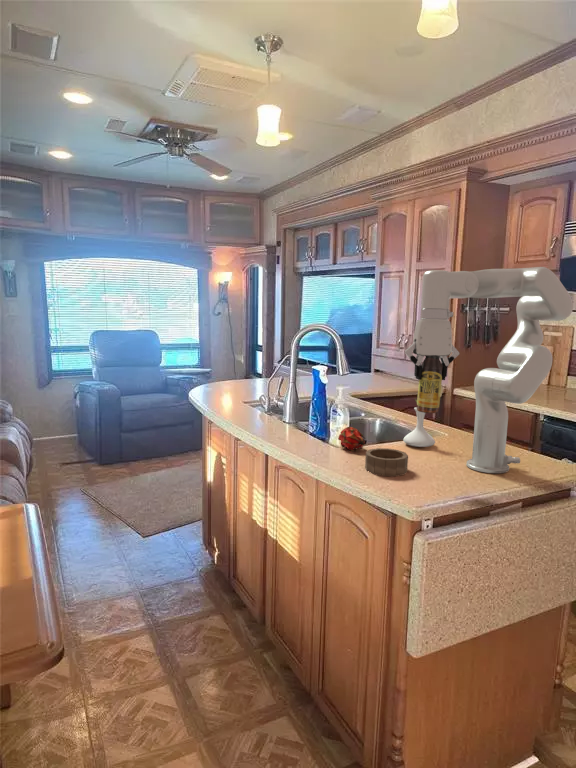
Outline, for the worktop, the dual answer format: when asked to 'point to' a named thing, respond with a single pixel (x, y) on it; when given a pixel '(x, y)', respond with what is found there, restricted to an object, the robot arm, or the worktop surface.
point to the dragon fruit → (351, 438)
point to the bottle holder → (386, 462)
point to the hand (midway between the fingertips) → (430, 378)
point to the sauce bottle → (430, 385)
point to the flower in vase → (420, 432)
